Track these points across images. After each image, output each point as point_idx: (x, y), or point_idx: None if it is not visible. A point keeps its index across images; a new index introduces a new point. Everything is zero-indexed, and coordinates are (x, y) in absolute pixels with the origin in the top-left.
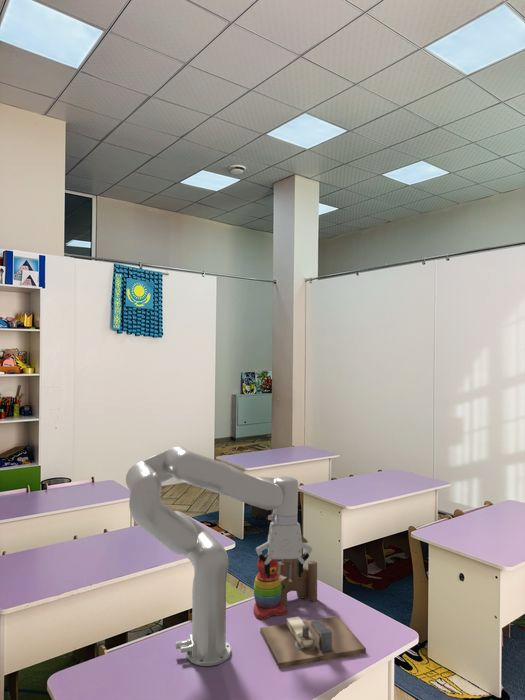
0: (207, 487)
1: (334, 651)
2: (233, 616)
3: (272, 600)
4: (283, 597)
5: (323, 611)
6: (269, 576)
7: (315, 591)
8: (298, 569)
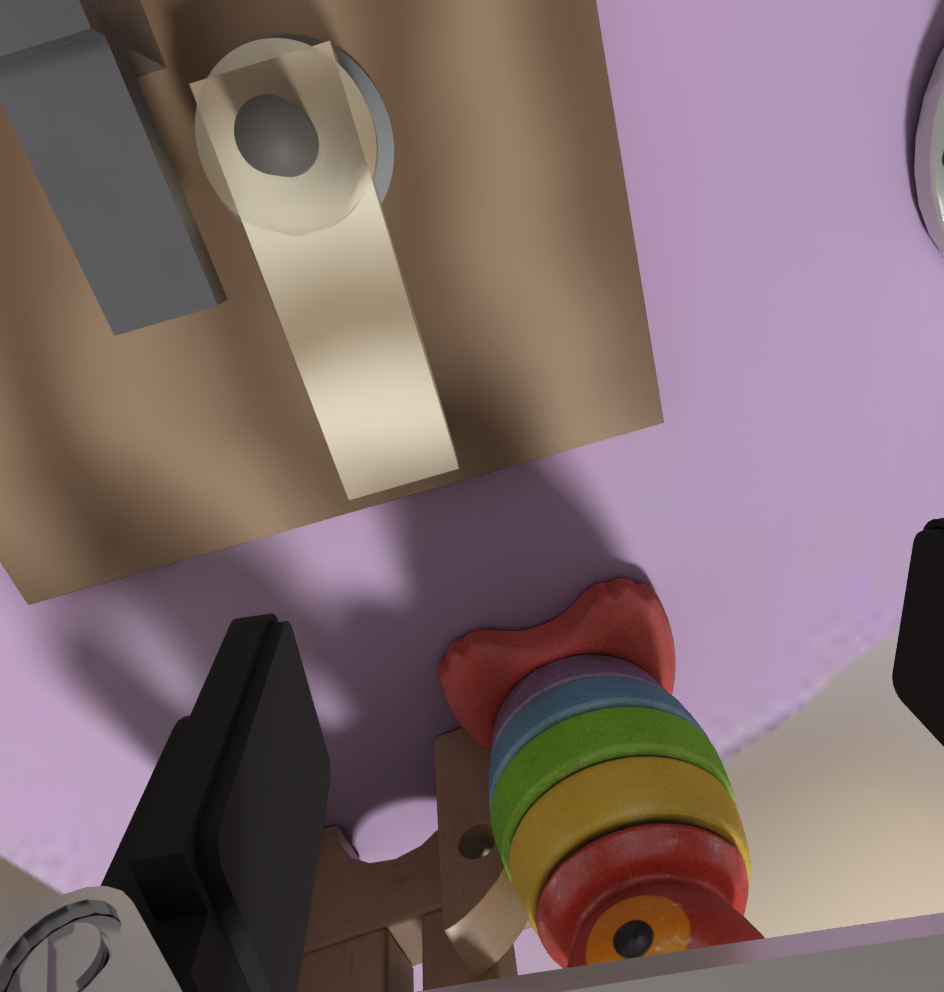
0: None
1: None
2: (807, 604)
3: (566, 691)
4: (463, 777)
5: (170, 694)
6: (942, 537)
7: None
8: (268, 755)
